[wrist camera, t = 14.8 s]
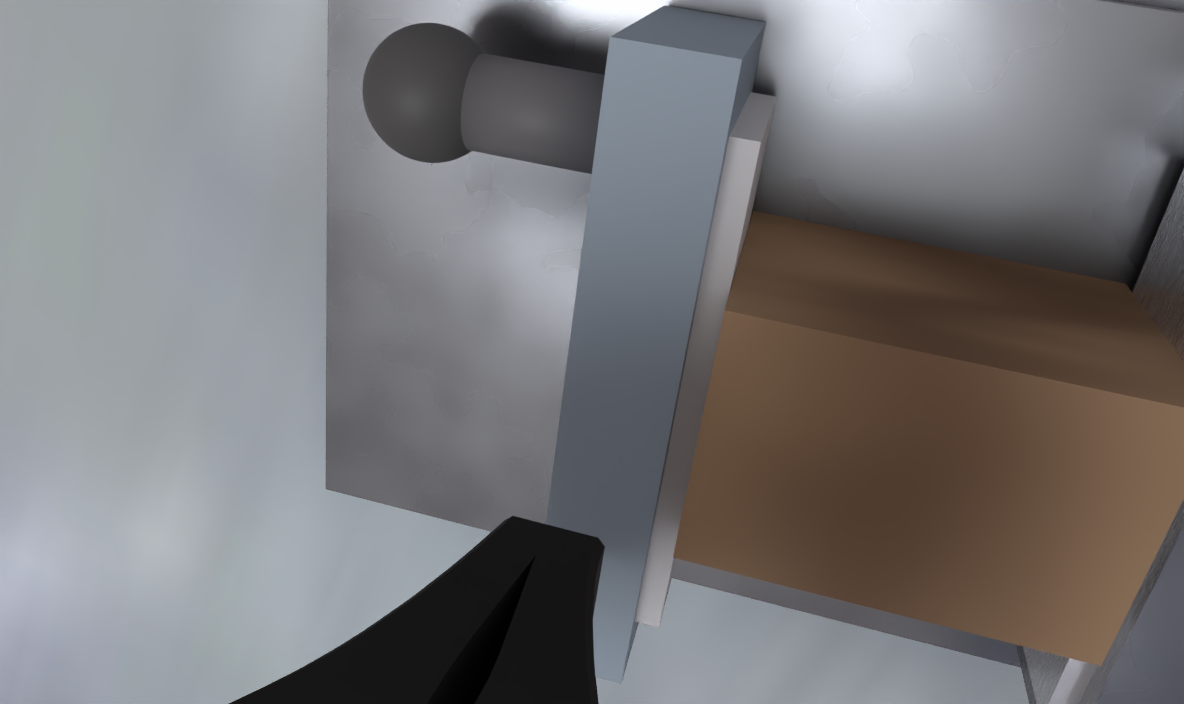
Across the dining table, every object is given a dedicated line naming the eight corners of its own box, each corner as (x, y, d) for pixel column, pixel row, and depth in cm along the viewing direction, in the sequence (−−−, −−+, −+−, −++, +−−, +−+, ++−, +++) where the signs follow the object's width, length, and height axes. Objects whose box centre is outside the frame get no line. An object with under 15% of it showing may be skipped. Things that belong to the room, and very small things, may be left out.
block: (1125, 283, 15) (1224, 416, 11) (1041, 489, 17) (1100, 665, 13) (753, 211, 16) (725, 310, 12) (709, 413, 18) (673, 557, 14)
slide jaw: (791, 26, 15) (775, 64, 11) (681, 545, 19) (644, 690, 16) (430, -34, 16) (309, -15, 12) (404, 476, 20) (312, 598, 17)
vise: (1375, 40, 14) (1609, 99, 10) (1080, 656, 19) (1148, 868, 15) (350, -117, 16) (178, -124, 12) (342, 469, 22) (221, 607, 17)
